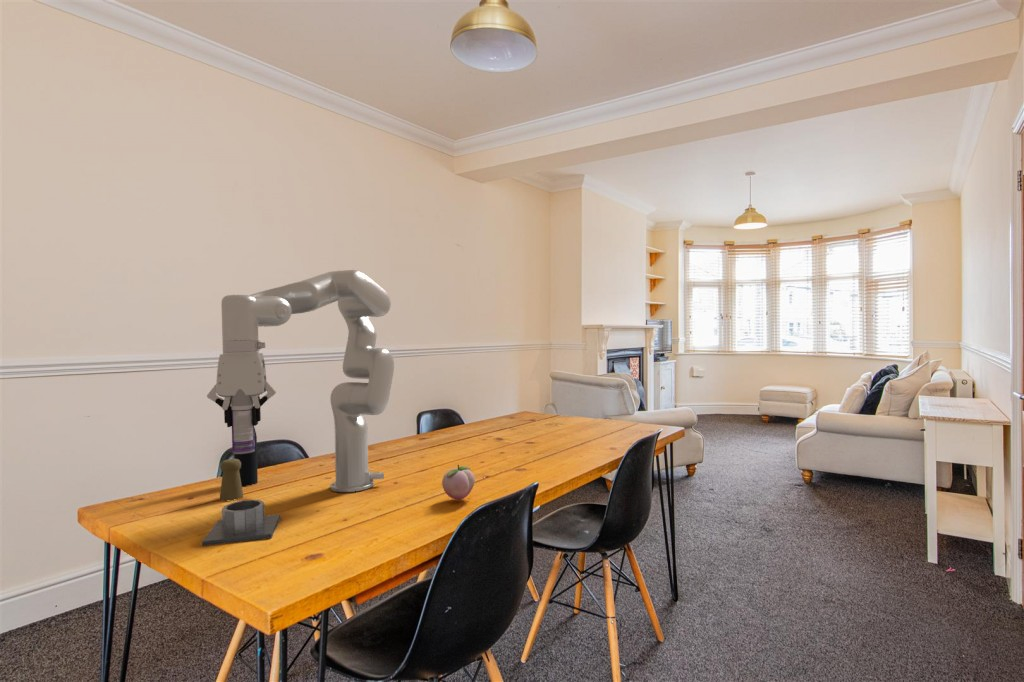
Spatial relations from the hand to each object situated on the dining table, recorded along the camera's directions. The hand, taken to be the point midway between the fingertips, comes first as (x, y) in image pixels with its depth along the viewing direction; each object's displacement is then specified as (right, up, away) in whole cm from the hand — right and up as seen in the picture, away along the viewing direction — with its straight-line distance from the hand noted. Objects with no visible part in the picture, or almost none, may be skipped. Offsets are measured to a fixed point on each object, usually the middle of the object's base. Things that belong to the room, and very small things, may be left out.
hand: (242, 424), depth 124 cm
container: (0, -7, 0) cm, 7 cm away
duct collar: (0, -25, 0) cm, 25 cm away
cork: (-17, -25, +27) cm, 40 cm away
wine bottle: (-20, -25, +41) cm, 52 cm away
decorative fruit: (+48, -24, +20) cm, 58 cm away
